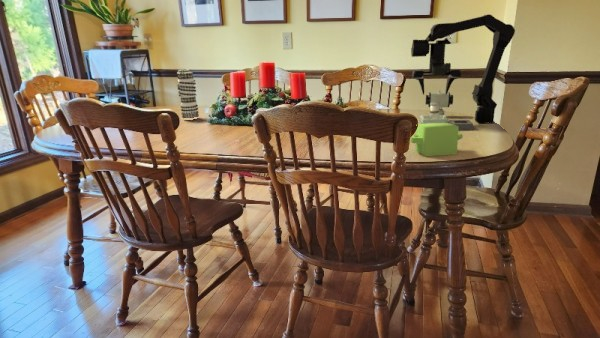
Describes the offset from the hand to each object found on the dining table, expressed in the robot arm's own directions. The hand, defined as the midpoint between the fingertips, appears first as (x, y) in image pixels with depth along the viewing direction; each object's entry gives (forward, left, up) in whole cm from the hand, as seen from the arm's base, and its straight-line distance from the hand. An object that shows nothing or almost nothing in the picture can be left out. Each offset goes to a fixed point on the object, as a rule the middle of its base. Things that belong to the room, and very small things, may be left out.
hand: (434, 94), depth 173 cm
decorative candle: (+118, -16, -13) cm, 120 cm away
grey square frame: (-9, +10, -12) cm, 18 cm away
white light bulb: (0, 0, -12) cm, 12 cm away
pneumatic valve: (-4, -14, -13) cm, 19 cm away
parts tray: (0, 0, -12) cm, 12 cm away
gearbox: (+5, +45, -13) cm, 47 cm away
